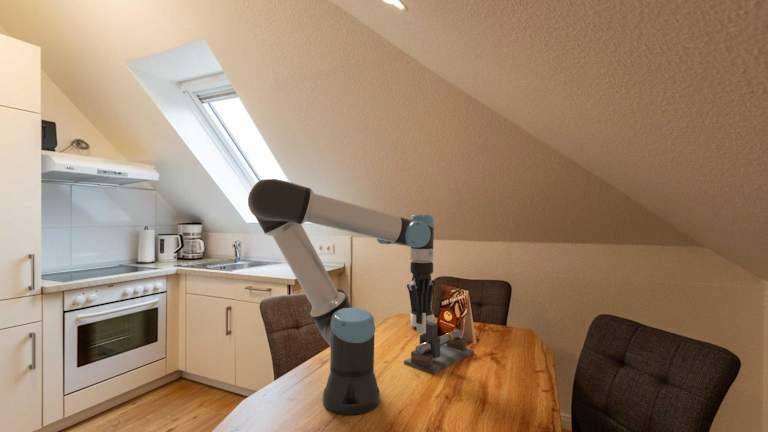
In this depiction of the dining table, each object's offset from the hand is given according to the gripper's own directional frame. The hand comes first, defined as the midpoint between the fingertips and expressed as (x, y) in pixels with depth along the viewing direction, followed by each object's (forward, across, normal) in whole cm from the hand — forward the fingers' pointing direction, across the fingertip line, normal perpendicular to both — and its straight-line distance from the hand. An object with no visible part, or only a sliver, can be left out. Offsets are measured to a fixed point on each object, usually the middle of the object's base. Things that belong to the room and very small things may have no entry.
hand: (421, 332), depth 121 cm
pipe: (+7, +12, 0) cm, 14 cm away
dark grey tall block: (+9, +5, 0) cm, 10 cm away
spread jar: (+12, +38, +27) cm, 48 cm away
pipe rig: (+12, +12, 0) cm, 17 cm away
